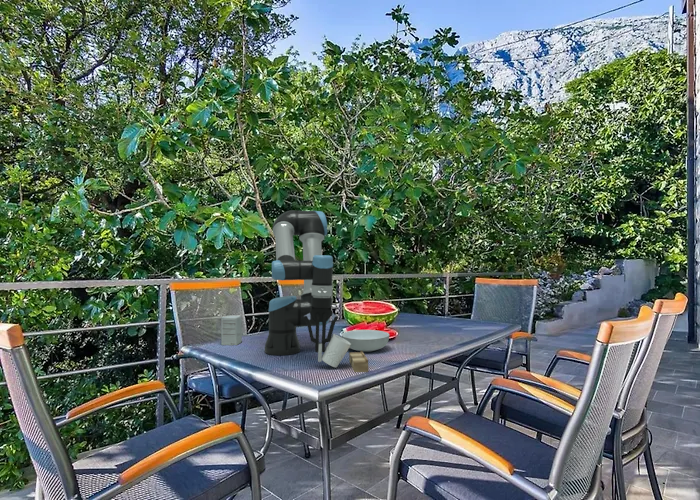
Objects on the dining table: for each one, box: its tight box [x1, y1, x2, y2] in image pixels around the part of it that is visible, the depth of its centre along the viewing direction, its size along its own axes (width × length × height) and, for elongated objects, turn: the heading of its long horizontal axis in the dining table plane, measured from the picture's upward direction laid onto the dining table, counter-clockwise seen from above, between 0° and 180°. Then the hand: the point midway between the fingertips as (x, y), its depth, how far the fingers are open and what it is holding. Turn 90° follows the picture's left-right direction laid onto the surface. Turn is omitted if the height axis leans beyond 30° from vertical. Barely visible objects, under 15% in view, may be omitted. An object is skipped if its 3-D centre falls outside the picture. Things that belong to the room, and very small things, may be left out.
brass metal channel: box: [348, 351, 369, 373], centre depth 160 cm, size 15×5×4 cm, turn 7°
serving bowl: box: [341, 329, 390, 353], centre depth 188 cm, size 21×21×7 cm
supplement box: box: [220, 315, 243, 346], centre depth 199 cm, size 7×7×13 cm
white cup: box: [321, 333, 351, 368], centre depth 158 cm, size 8×8×10 cm
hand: (319, 361), depth 158 cm, fingers closed
